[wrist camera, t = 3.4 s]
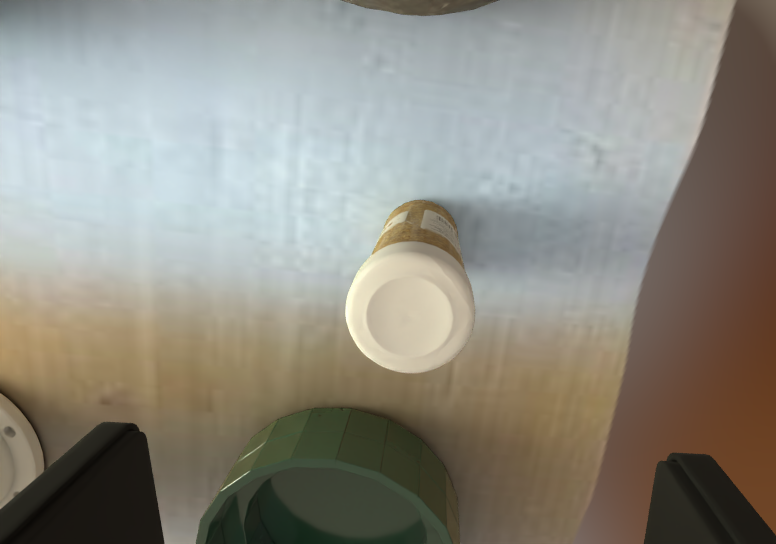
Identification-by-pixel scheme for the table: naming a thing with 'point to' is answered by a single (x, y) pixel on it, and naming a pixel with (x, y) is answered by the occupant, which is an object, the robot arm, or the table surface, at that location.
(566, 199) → the table surface
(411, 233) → the sprinkles bottle
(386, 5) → the vessel
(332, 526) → the green round dish
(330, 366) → the table surface
